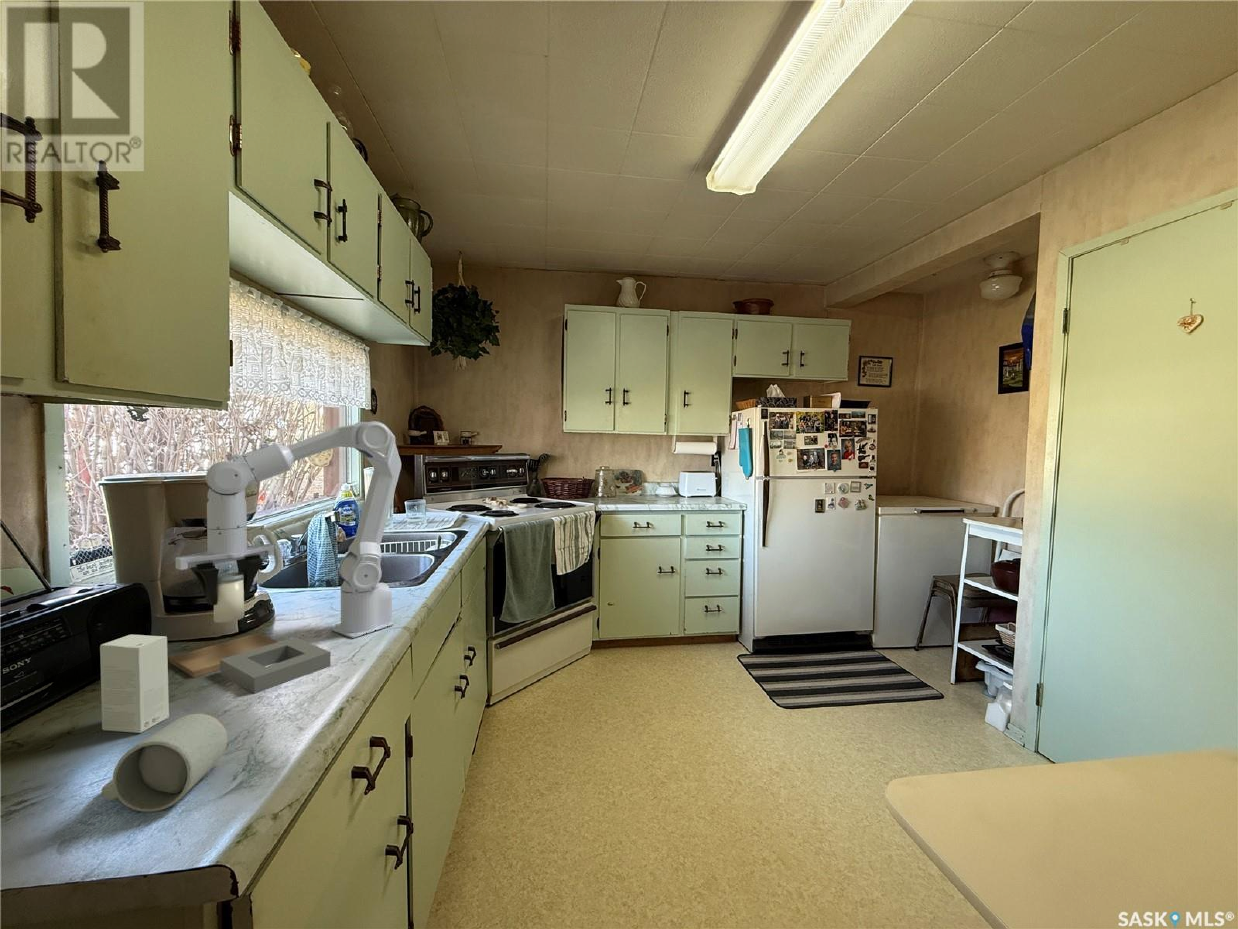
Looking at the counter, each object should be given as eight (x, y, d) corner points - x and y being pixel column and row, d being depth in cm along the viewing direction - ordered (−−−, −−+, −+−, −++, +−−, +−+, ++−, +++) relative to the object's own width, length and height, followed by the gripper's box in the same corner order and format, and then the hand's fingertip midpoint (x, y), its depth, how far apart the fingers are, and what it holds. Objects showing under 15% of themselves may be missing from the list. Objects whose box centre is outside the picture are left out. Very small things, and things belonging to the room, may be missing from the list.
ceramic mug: (234, 762, 64) (232, 702, 63) (191, 809, 56) (188, 741, 55) (137, 771, 62) (135, 709, 62) (78, 821, 54) (74, 750, 53)
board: (258, 637, 102) (258, 632, 102) (283, 649, 97) (283, 644, 97) (169, 662, 90) (169, 657, 90) (193, 677, 85) (193, 671, 85)
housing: (295, 649, 97) (294, 637, 97) (330, 665, 91) (330, 652, 91) (220, 673, 87) (220, 659, 86) (254, 693, 80) (254, 678, 80)
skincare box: (170, 717, 73) (169, 636, 73) (139, 734, 69) (138, 648, 68) (132, 714, 74) (130, 633, 73) (99, 731, 70) (97, 645, 69)
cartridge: (237, 612, 96) (236, 571, 96) (249, 617, 94) (249, 574, 94) (208, 620, 92) (207, 576, 92) (220, 624, 90) (219, 580, 90)
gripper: (187, 535, 84) (188, 616, 85) (281, 524, 97) (282, 594, 97) (170, 530, 88) (171, 608, 88) (263, 520, 100) (264, 588, 101)
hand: (228, 600), depth 93 cm, fingers closed on cartridge, 4 cm apart
